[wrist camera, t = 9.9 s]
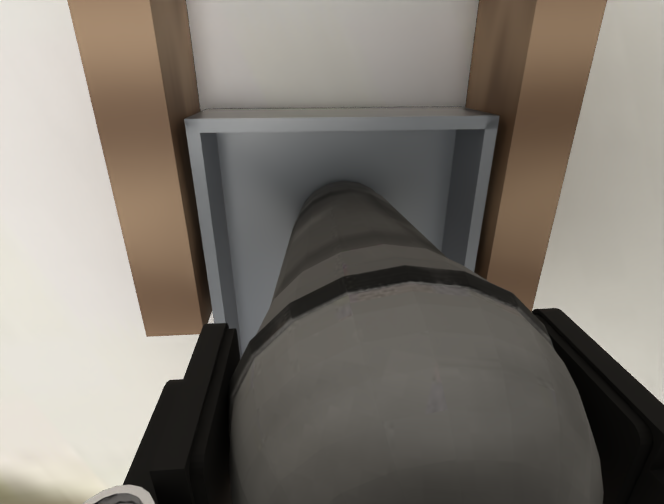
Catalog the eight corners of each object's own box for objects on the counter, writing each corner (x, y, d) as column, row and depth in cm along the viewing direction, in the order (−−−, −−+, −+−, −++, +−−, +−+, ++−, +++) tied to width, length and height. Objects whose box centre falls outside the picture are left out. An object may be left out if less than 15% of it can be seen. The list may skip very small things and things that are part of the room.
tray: (452, 404, 27) (508, 526, 20) (213, 419, 26) (182, 554, 19) (501, 106, 19) (624, 129, 12) (161, 109, 18) (72, 136, 11)
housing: (485, 270, 24) (530, 318, 19) (177, 282, 22) (146, 336, 18) (568, -198, 15) (681, -309, 11) (84, -220, 14) (-17, -357, 10)
